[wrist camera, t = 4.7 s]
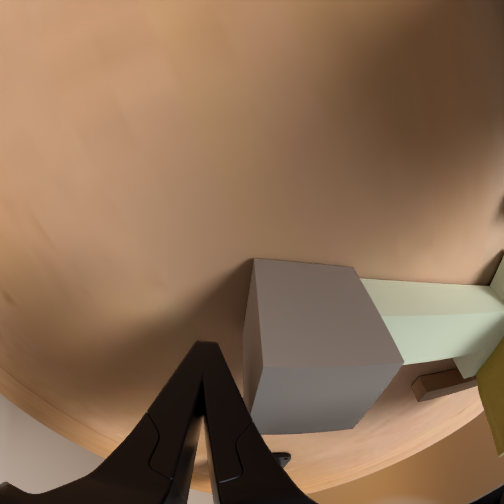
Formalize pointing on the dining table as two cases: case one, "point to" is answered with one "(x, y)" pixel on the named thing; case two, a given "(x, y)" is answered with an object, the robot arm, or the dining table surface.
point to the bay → (441, 384)
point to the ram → (352, 339)
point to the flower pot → (493, 394)
